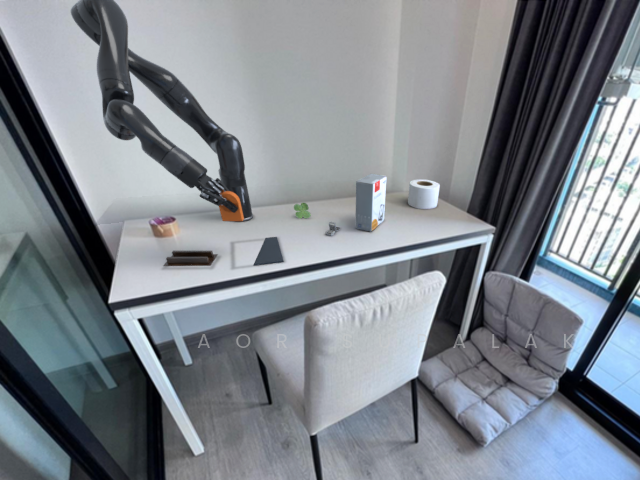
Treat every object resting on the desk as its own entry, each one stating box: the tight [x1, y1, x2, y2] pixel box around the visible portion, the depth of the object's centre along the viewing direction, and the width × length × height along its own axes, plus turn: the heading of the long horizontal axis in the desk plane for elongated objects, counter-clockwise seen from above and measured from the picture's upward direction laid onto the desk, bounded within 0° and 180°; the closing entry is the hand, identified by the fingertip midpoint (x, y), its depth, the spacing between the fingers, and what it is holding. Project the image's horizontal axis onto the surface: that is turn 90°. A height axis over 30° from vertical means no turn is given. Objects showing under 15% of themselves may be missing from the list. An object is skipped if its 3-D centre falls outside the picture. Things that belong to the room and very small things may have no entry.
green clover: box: [293, 202, 312, 219], centre depth 146 cm, size 7×8×7 cm
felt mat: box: [252, 236, 285, 267], centre depth 115 cm, size 20×16×1 cm
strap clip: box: [325, 221, 341, 237], centre depth 133 cm, size 8×3×4 cm, turn 165°
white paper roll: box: [407, 179, 441, 210], centre depth 168 cm, size 16×15×11 cm
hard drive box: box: [355, 173, 387, 232], centre depth 138 cm, size 16×8×20 cm, turn 161°
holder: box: [162, 250, 219, 267], centre depth 106 cm, size 14×8×3 cm, turn 98°
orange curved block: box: [218, 191, 244, 222], centre depth 103 cm, size 6×2×9 cm, turn 98°
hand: (237, 208), depth 104 cm, fingers closed on orange curved block, 2 cm apart
